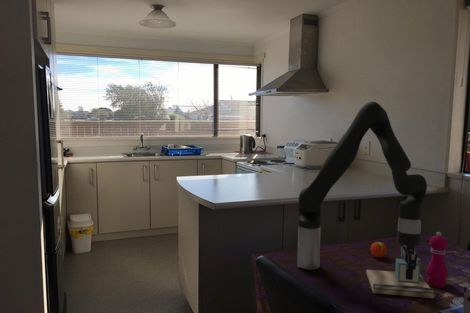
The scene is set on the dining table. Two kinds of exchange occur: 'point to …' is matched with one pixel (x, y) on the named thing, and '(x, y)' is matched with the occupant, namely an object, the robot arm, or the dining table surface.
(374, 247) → the clementine
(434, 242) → the pepper mill
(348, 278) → the dining table surface
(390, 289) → the shelf board
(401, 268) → the tea box
